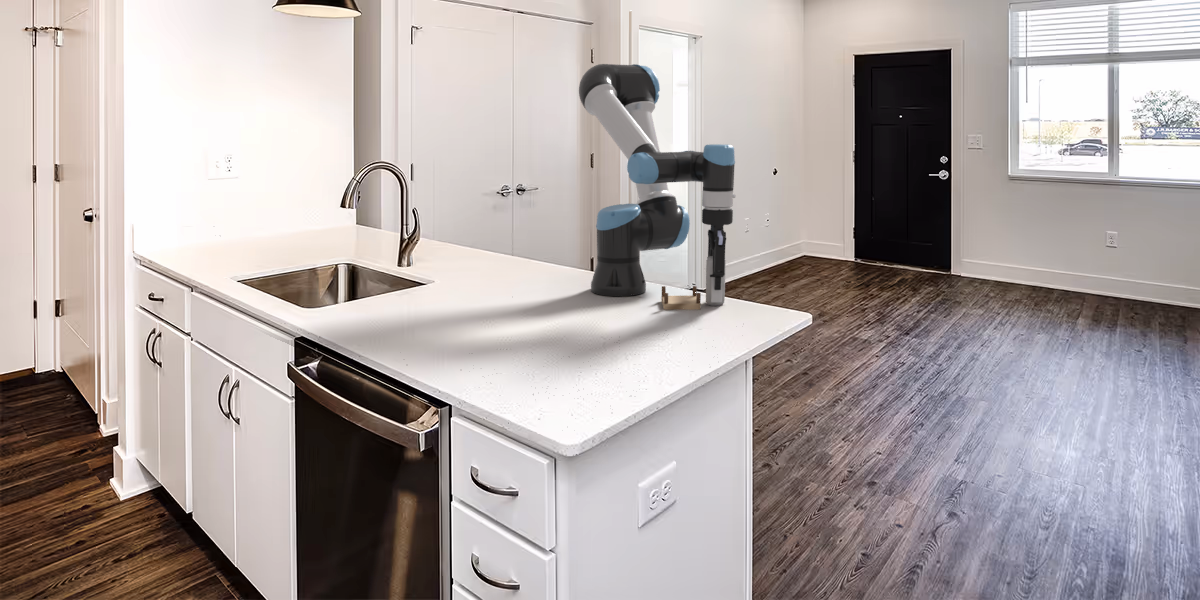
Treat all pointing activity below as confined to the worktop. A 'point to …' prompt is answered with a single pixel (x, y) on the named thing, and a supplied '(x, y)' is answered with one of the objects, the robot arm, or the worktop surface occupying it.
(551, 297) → the worktop surface
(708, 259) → the beverage can
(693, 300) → the stand
